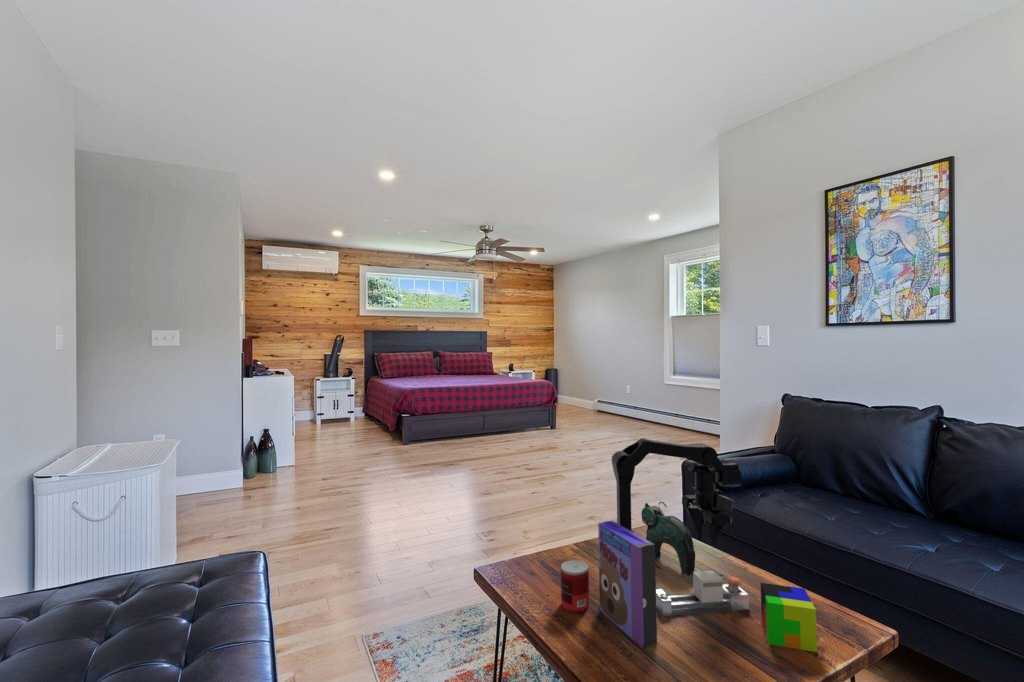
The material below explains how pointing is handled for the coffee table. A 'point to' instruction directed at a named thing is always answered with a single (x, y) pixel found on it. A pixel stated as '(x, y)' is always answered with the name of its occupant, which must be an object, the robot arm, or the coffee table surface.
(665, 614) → the rail
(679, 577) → the coffee table surface
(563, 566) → the canned food
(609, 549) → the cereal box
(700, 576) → the carriage
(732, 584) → the button
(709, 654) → the coffee table surface
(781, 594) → the puzzle toy
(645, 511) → the ceramic cat
